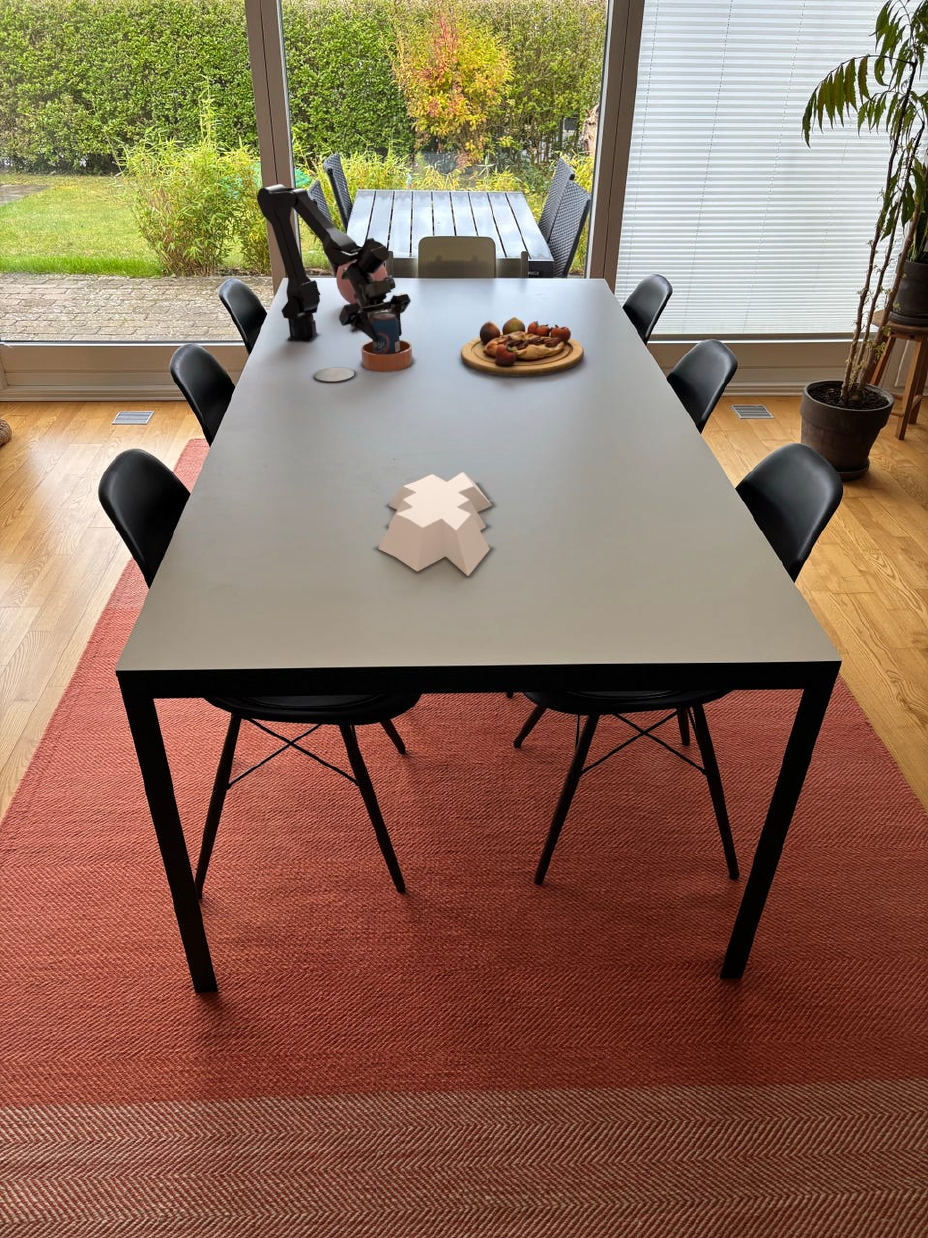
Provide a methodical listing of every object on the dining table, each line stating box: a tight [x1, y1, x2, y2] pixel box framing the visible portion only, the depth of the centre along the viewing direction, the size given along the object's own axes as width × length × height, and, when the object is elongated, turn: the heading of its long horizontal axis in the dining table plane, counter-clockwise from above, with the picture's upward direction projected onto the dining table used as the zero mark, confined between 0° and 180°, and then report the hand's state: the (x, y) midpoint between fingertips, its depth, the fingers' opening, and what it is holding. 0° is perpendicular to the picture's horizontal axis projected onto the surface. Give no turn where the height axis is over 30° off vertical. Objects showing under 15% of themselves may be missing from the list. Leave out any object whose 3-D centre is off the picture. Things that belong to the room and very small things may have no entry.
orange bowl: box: [360, 339, 413, 372], centre depth 254 cm, size 13×13×4 cm
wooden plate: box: [460, 316, 585, 377], centre depth 254 cm, size 32×32×8 cm
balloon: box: [335, 260, 389, 304], centre depth 292 cm, size 15×20×15 cm
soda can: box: [371, 311, 401, 355], centre depth 251 cm, size 7×7×12 cm
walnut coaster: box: [314, 367, 355, 384], centre depth 247 cm, size 10×10×1 cm
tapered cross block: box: [377, 471, 493, 577], centre depth 178 cm, size 35×20×6 cm, turn 177°
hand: (388, 337), depth 250 cm, fingers closed on soda can, 7 cm apart
